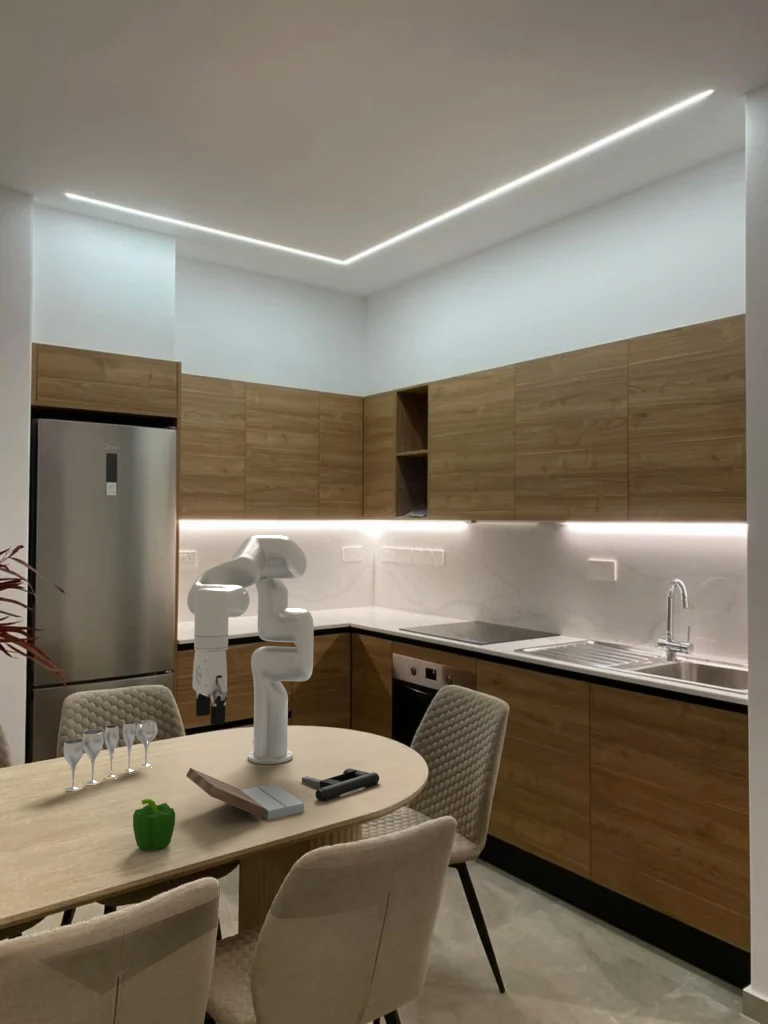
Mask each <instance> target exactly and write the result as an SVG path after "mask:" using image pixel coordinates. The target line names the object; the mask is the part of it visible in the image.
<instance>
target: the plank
mask: <svg viewBox="0 0 768 1024" xmlns="http://www.w3.org/2000/svg"><path fill="white" fill-rule="evenodd" d="M185 776H186V777H187V779H189V780H190V781H191V782H192V783H194V784H195V785H196V786H197V787H198V788H200V789H201V790H203V791H204V792H205V793H206V795H208V796H210V797H212V798H213V799H217V800H218V801H221V802H222V803H223V802H224V803H226V804H228V805H230V806H233V807H235V808H237V809H240V810H242V811H245V812H247V813H250V814H251V815H255V816H258V817H259V818H264V816H263V815H264V813H265V811H266V808H264V807H263V806H261V805H260V804H259V803H257V802H256V801H255V800H253V799H252V798H251V797H249V796H248V795H247V794H245V793H244V792H243V791H241V790H242V789H240V788H238V787H236V786H233V785H231V784H229V783H226V782H224V781H222V780H219V779H218V778H215V777H212V776H210V775H208V774H205V773H203V772H201V771H199V770H196V769H194V768H191V767H190V768H189V769H188V771H187V773H186V775H185Z"/></svg>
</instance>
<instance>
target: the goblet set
mask: <svg viewBox="0 0 768 1024" xmlns="http://www.w3.org/2000/svg"><path fill="white" fill-rule="evenodd" d="M157 734H158V726H157V722H156V721H155V719H154V720H153V719H143V720H139V721H138V722H136V721H133V720H132V721H130V720H129V721H125V722H123V727H122V737H123V740H124V743H125V745H126V747H127V753H128V757H127V758H128V759H127V760H128V767H127V768H126V770H125V769H124V770H125V771H127V772H132V771H134V770H133V769H134V768H131V764H130V763H131V752H132V751H131V750H132V746H133V745H134V742H135V740H136V739H138V741H140V742H141V743H142V744H143V746H144V751H145V753H144V754H145V759H144V760H145V761H144V763H145V764H143V763H141V764H142V765H141V766H147V767H148V766H150V765H151V764H148V763H149V762H148V759H147V758H148V749H149V745H150V744H151V742H152V741H153V740H154V739H155V738H156V736H157ZM119 740H120V728H119V725H118V724H108V725H106V726H105V728H104V730H102V729H100V728H99V729H88V730H85V731H83V733H82V738H81V739H80V738H74V739H72V738H71V739H68V740H65V741H64V743H63V748H62V749H63V750H62V751H63V757H64V760H65V761H66V762H67V764H68V765H69V767H70V769H71V787H70V786H67V787H68V788H67V787H65V788H64V789H65V791H75V790H77V789H79V788H80V787H78V786H79V785H75V771H76V767H77V765H78V764H79V762H80V761H81V759H82V757H83V755H84V753H85V754H86V755H87V757H88V759H89V760H90V764H91V779H90V780H91V781H89V780H87V781H88V782H86V783H87V784H95V783H97V782H98V781H97V780H98V779H94V775H95V774H94V771H95V769H94V768H95V762H96V759H97V757H98V756H99V754H100V753H101V751H102V749H103V746H104V743H105V746H106V748H107V752H108V754H109V758H110V759H109V761H110V774H107V775H108V776H107V777H115V776H116V775H117V774H116V775H112V774H113V758H114V753H115V751H116V748H117V746H118V745H119ZM65 791H64V792H65Z"/></svg>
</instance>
